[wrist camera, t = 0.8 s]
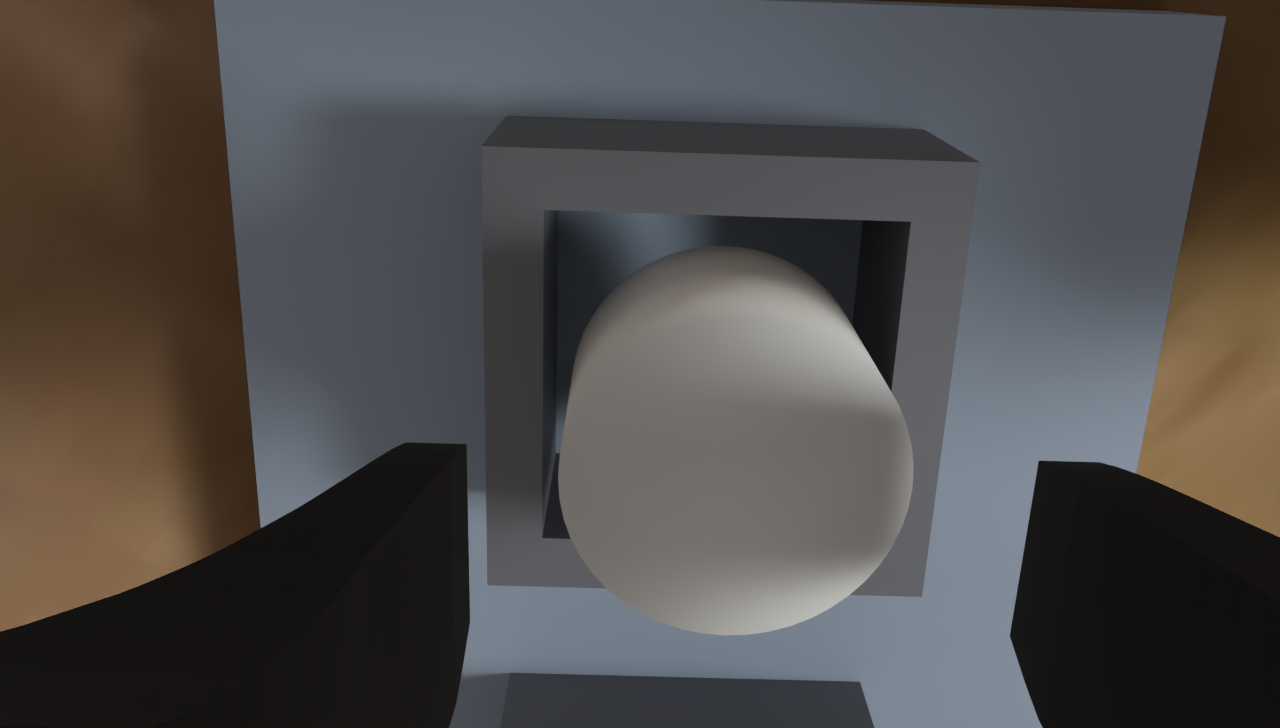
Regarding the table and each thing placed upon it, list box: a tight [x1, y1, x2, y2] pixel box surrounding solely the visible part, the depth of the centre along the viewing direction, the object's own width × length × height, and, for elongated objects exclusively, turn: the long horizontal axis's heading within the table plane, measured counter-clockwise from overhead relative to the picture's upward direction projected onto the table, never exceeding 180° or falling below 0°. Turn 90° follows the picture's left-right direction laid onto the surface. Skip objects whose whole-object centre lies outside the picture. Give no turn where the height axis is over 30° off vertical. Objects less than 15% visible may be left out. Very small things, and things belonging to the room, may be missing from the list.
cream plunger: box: [558, 246, 914, 635], centre depth 14 cm, size 4×4×3 cm
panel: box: [214, 0, 1226, 728], centre depth 20 cm, size 15×20×5 cm
